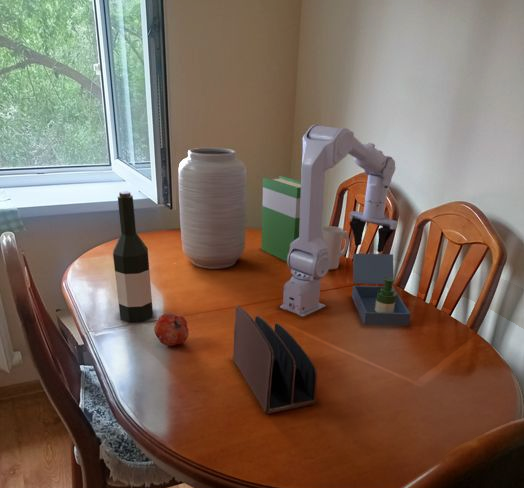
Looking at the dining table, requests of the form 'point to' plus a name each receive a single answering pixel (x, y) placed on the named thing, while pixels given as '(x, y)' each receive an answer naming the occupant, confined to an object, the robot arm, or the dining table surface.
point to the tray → (366, 307)
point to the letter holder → (273, 364)
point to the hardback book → (280, 215)
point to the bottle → (386, 297)
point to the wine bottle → (131, 267)
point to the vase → (212, 207)
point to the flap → (372, 268)
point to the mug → (334, 243)
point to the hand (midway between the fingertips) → (368, 248)
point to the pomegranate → (171, 329)
